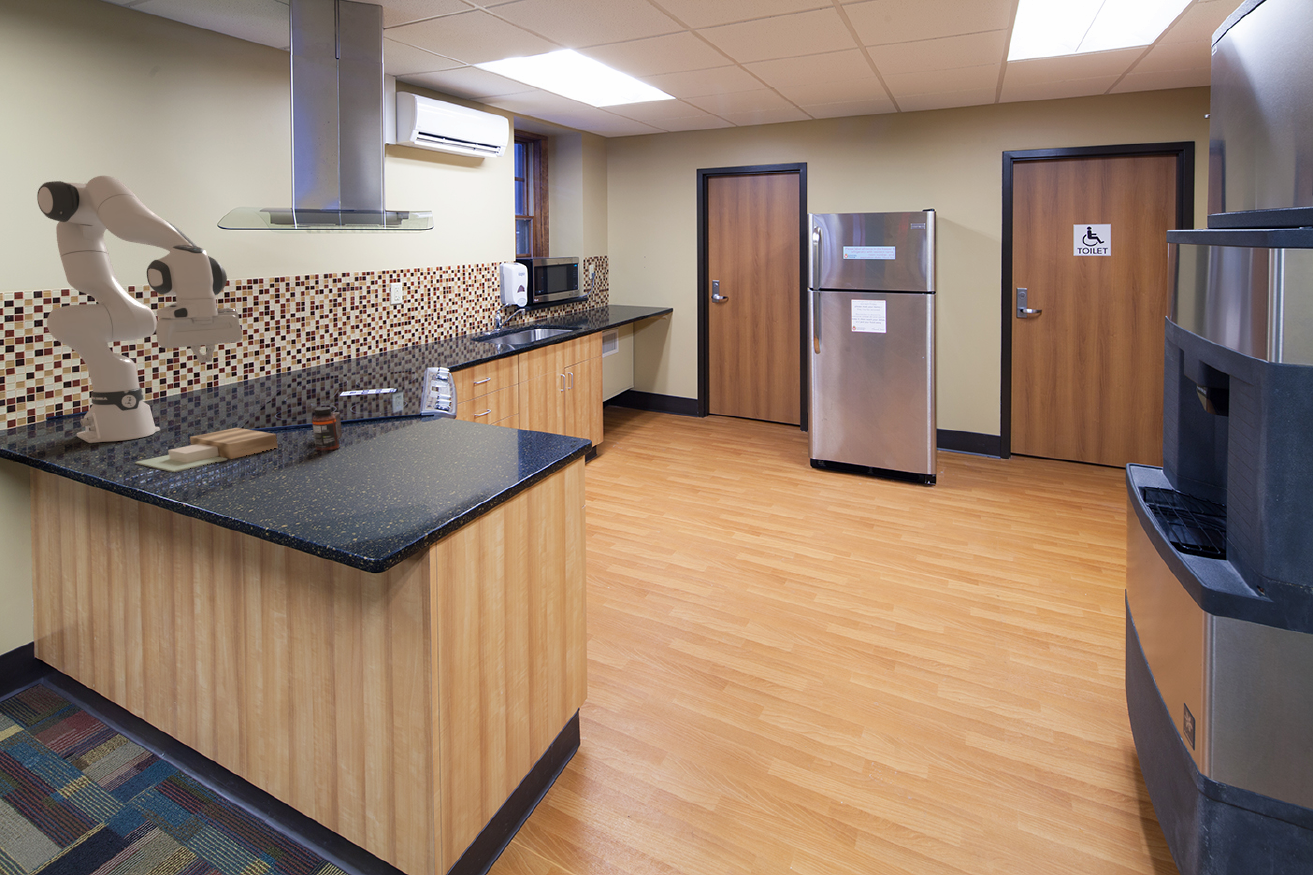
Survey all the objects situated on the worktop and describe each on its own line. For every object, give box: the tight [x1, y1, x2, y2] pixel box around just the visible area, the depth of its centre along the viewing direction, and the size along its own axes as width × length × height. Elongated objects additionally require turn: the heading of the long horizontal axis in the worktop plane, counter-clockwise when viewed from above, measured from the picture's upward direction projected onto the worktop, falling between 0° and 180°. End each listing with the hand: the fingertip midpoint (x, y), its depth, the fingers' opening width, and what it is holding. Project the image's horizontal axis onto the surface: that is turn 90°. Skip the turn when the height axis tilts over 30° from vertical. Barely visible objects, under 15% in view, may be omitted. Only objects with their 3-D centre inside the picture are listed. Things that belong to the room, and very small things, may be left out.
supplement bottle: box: [311, 406, 340, 452], centre depth 194 cm, size 6×6×11 cm
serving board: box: [189, 427, 279, 460], centre depth 195 cm, size 18×13×4 cm
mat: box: [134, 454, 228, 473], centre depth 184 cm, size 18×13×1 cm
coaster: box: [167, 444, 219, 463], centre depth 186 cm, size 8×8×2 cm
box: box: [313, 412, 343, 440], centre depth 206 cm, size 6×6×7 cm
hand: (205, 362), depth 190 cm, fingers closed
